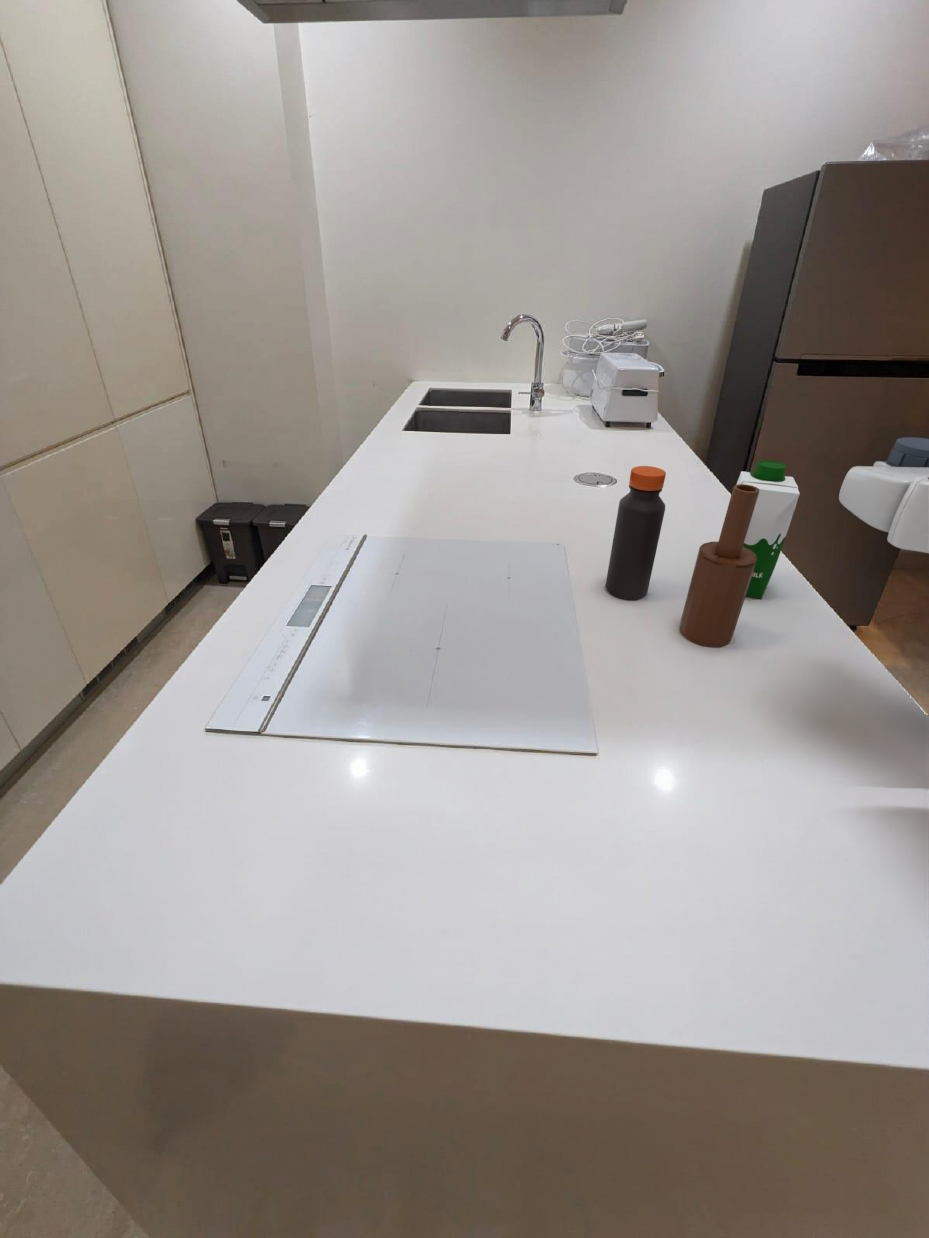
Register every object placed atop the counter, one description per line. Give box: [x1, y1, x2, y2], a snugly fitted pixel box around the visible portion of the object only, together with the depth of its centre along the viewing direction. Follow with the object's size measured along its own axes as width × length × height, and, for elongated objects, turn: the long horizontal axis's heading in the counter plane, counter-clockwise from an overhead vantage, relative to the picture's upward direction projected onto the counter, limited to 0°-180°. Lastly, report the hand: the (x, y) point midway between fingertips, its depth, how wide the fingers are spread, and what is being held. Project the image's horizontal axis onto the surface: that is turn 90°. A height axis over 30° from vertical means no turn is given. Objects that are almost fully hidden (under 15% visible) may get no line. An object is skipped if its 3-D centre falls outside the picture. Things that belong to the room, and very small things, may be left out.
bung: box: [886, 436, 929, 467], centre depth 64 cm, size 5×5×8 cm
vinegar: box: [605, 465, 667, 600], centre depth 90 cm, size 7×7×20 cm
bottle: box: [679, 484, 760, 648], centre depth 79 cm, size 7×7×22 cm
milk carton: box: [735, 459, 801, 600], centre depth 92 cm, size 9×9×20 cm
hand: (909, 469), depth 64 cm, fingers closed on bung, 5 cm apart
